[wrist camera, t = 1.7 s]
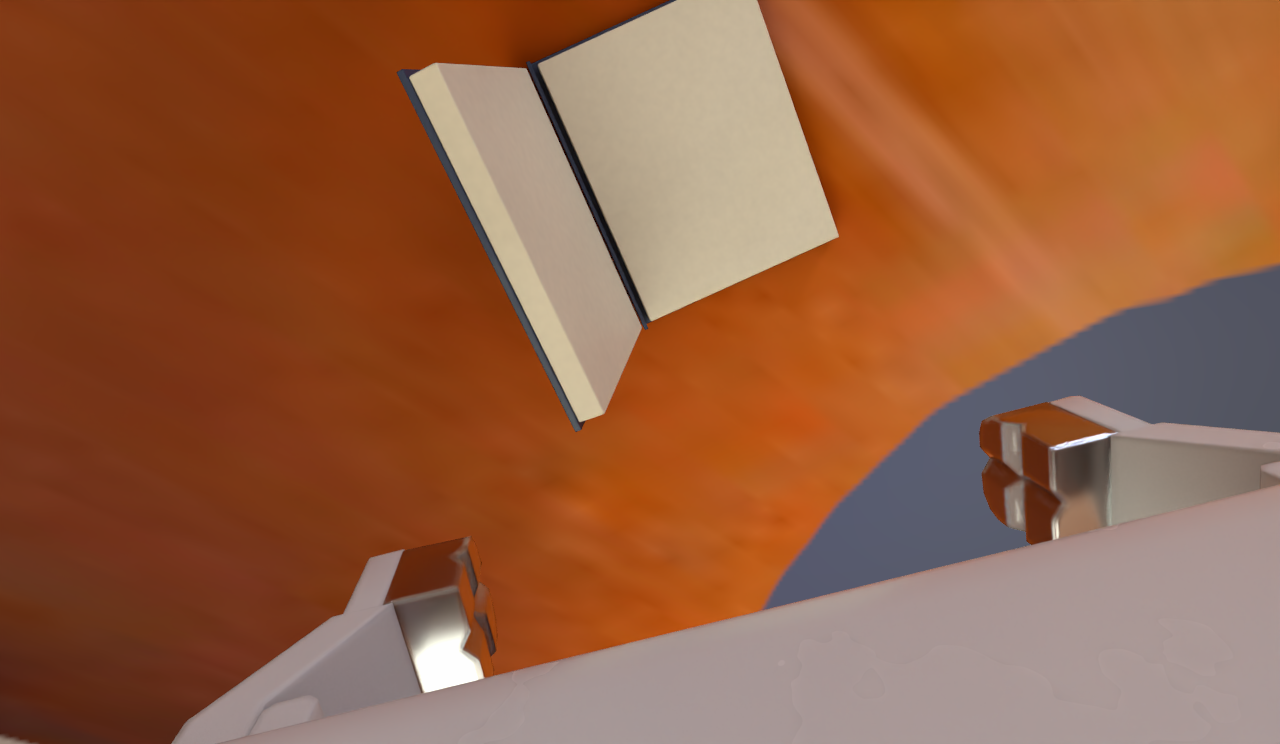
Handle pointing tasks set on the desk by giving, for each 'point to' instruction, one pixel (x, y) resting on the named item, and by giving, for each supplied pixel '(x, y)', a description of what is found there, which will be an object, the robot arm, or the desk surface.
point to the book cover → (531, 224)
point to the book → (686, 149)
